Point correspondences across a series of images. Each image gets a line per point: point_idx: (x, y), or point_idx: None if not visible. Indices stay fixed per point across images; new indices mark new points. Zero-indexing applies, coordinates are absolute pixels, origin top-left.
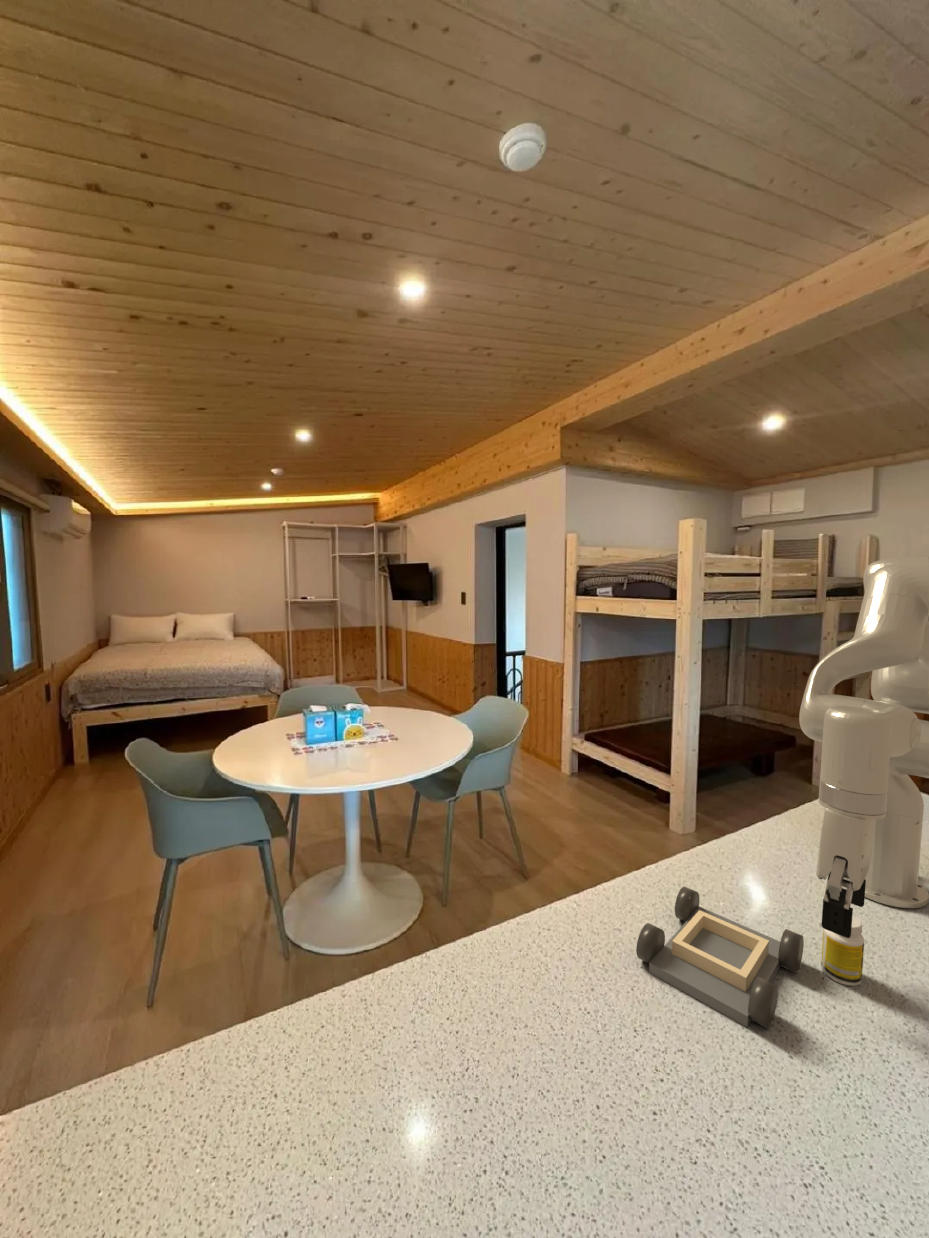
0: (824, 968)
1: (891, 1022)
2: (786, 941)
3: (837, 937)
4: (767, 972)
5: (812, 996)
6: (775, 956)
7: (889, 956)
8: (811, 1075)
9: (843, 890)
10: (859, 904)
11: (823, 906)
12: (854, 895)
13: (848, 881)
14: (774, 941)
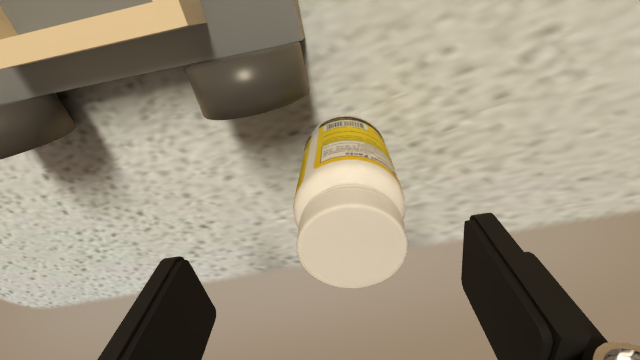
0: (310, 135)
1: (285, 240)
2: (199, 88)
3: (298, 216)
4: (135, 64)
5: (216, 142)
6: (214, 44)
7: (501, 191)
8: (55, 207)
9: (487, 269)
10: (465, 283)
11: (112, 341)
12: (478, 299)
13: (516, 339)
14: (279, 2)
